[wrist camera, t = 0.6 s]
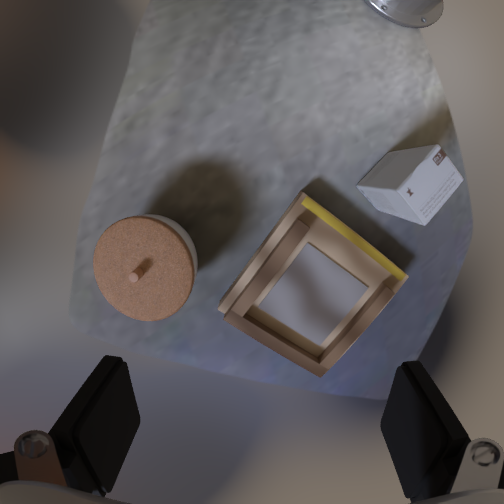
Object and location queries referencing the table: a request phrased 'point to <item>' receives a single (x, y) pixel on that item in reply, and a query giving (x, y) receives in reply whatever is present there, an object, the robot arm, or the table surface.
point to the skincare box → (411, 183)
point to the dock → (311, 287)
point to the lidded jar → (145, 266)
